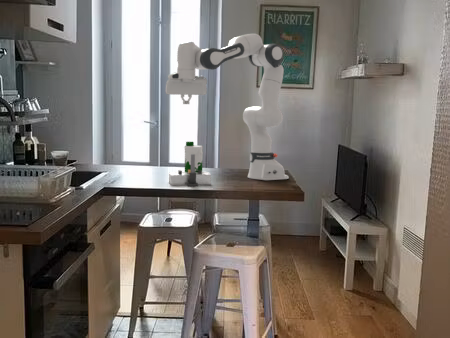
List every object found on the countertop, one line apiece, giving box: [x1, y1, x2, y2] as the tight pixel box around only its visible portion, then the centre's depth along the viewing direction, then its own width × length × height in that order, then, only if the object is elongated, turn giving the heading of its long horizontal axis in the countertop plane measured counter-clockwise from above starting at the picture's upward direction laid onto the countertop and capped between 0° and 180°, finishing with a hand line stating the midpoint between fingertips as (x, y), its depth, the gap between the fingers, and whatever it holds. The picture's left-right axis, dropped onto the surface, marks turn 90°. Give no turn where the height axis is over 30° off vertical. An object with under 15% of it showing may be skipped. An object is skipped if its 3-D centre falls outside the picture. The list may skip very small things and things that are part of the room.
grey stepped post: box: [186, 154, 199, 188], centre depth 244 cm, size 5×5×16 cm
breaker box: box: [168, 169, 212, 186], centre depth 252 cm, size 20×8×7 cm, turn 105°
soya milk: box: [184, 141, 204, 172], centre depth 262 cm, size 9×9×20 cm
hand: (186, 104), depth 246 cm, fingers closed
